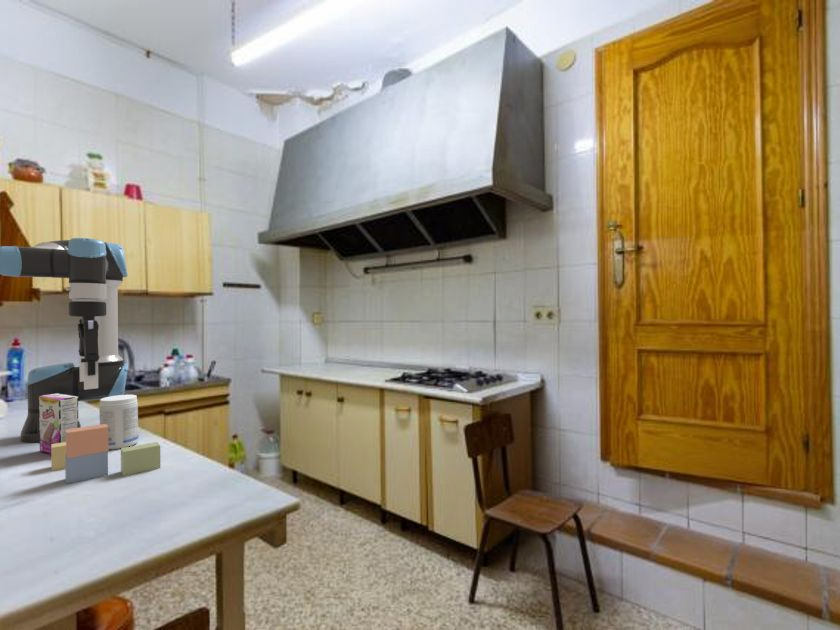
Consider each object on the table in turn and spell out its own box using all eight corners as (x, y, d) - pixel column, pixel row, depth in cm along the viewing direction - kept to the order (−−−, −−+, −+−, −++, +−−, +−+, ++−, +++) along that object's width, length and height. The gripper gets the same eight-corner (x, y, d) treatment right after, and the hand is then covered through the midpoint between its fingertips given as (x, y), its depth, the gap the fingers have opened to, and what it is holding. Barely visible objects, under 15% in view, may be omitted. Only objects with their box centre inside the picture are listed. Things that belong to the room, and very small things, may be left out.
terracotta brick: (66, 458, 102) (66, 433, 102) (65, 454, 105) (65, 429, 105) (108, 451, 107) (108, 426, 107) (106, 447, 110) (106, 423, 110)
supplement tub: (136, 439, 138) (136, 393, 138) (140, 446, 131) (140, 397, 131) (98, 445, 132) (98, 396, 132) (100, 452, 125) (100, 401, 125)
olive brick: (123, 476, 107) (123, 451, 107) (120, 471, 110) (120, 448, 110) (160, 468, 112) (160, 445, 112) (157, 464, 115) (157, 441, 115)
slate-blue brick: (66, 483, 102) (66, 458, 102) (65, 478, 105) (65, 454, 105) (107, 475, 107) (107, 451, 107) (105, 470, 110) (105, 447, 110)
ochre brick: (52, 471, 110) (51, 447, 110) (51, 467, 113) (51, 444, 113) (91, 463, 116) (91, 441, 116) (89, 460, 119) (89, 438, 119)
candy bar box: (38, 452, 125) (37, 395, 125) (58, 447, 130) (58, 392, 130) (59, 457, 121) (59, 398, 121) (79, 452, 125) (79, 395, 125)
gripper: (66, 300, 116) (66, 379, 116) (71, 300, 97) (72, 394, 97) (100, 300, 121) (101, 376, 121) (112, 300, 102) (113, 390, 102)
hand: (88, 384), depth 109 cm, fingers open, 13 cm apart
